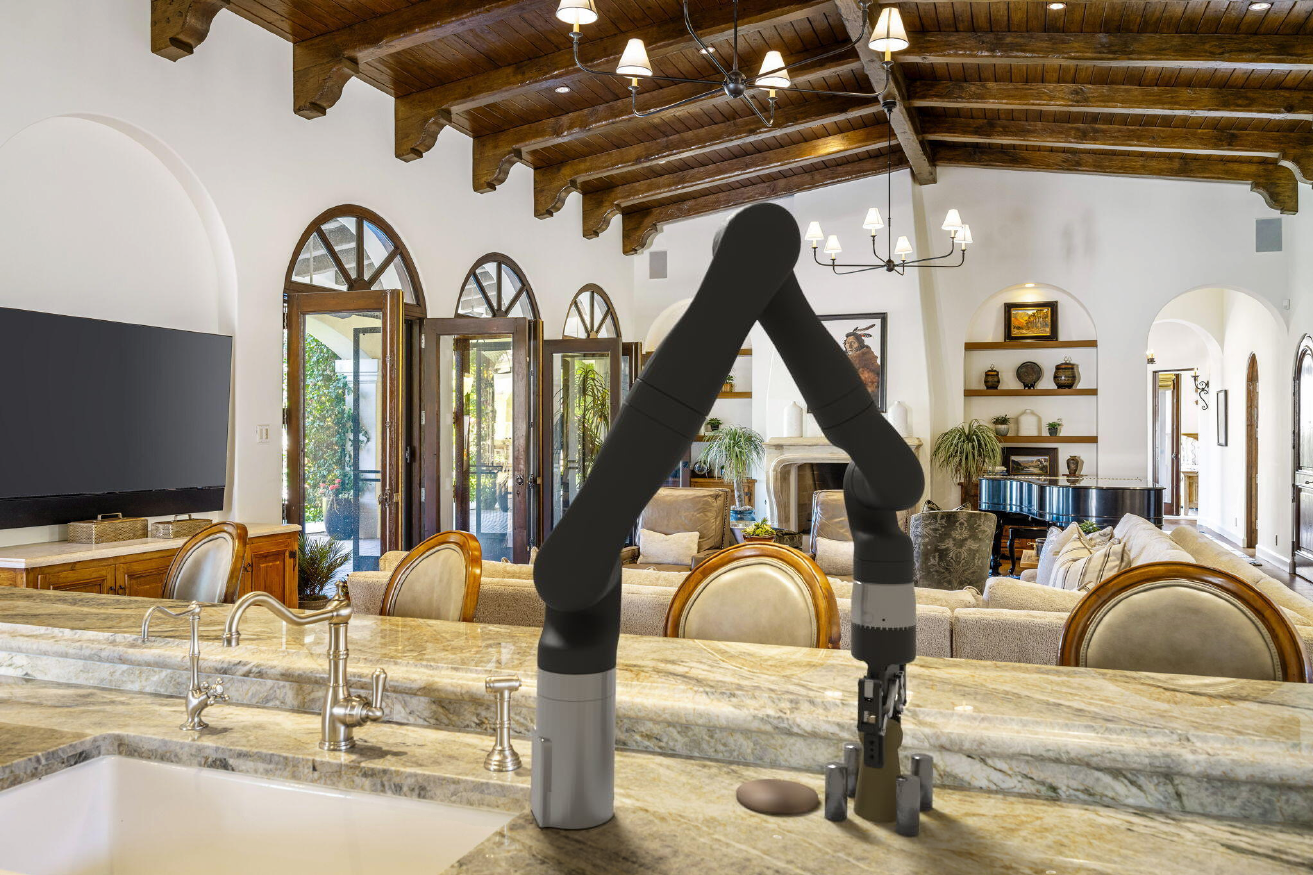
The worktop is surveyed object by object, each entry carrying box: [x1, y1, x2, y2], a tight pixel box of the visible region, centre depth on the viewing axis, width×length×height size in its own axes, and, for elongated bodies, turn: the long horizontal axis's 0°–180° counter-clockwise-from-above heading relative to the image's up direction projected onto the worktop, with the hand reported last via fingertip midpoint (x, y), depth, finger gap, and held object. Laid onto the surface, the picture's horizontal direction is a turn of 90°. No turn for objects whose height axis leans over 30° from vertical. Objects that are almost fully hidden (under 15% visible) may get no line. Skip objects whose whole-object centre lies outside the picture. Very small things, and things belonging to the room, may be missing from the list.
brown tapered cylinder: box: [852, 716, 904, 824], centre depth 107 cm, size 6×6×11 cm
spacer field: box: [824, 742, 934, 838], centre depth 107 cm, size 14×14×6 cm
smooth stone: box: [735, 778, 819, 816], centre depth 111 cm, size 10×10×1 cm
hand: (883, 756), depth 107 cm, fingers open, 8 cm apart
